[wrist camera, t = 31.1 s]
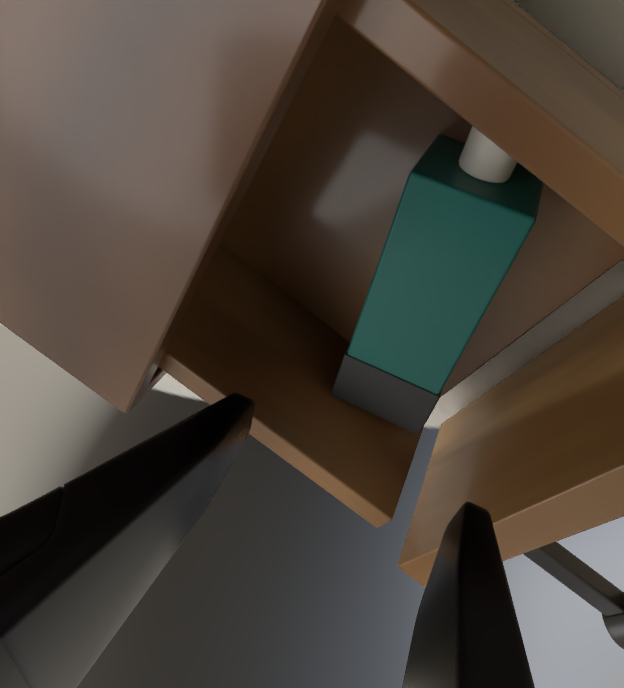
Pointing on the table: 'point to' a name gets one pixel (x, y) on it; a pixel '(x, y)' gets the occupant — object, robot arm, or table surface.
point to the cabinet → (132, 164)
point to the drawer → (362, 259)
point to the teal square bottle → (436, 276)
